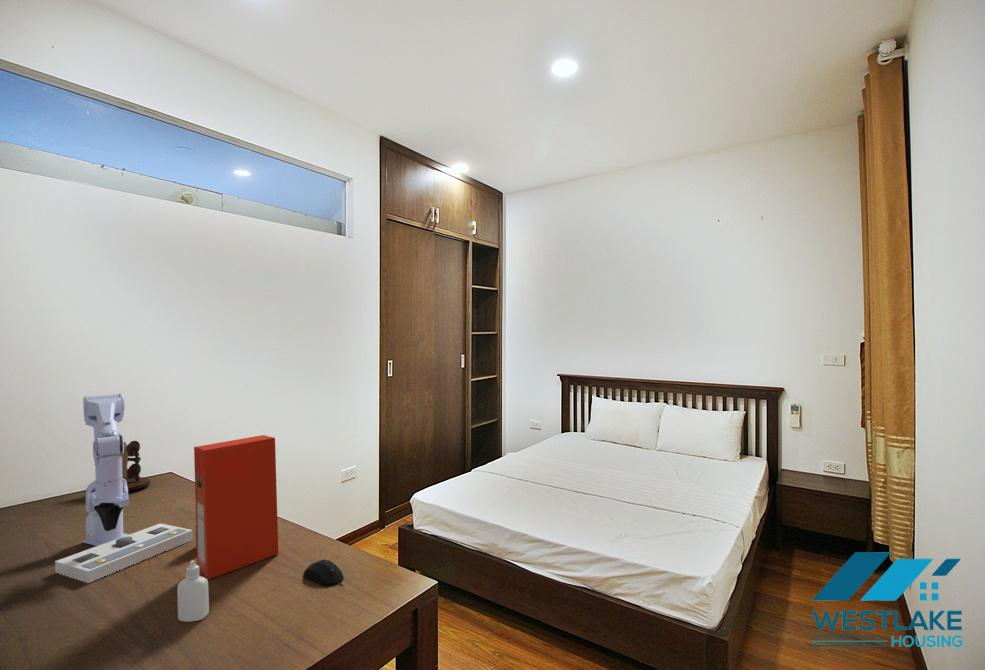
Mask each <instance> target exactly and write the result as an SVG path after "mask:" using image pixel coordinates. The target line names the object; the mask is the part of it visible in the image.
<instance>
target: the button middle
mask: <svg viewBox="0 0 985 670" xmlns="http://www.w3.org/2000/svg"><path fill="white" fill-rule="evenodd" d="M130 544H132V537H130V536H129V537H123V538H120V539H118V540H116V547H118V548H122V547H124V546H127V545H130Z"/></svg>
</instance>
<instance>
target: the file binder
mask: <svg viewBox="0 0 985 670" xmlns="http://www.w3.org/2000/svg"><path fill="white" fill-rule="evenodd" d="M276 455H277V454H276V437H273V436H269V435H266V434H265V435H264V434H262V435H256V436H250V437H246V438H244V437H243V438H237V439H233V440H227V441H221V442H216V443H215V442H214V443H210V444H209V443H208V444H204V445H197V446H193V457H194V458H193V459H194V461H193V463H194V490H195V491H194V495H195V498H194V499H195V537H196V536H197V548H196V561H197V562H196V565H199V575H200V576H201V577H204V578H206V579H207V580H211V579H214V578H216V577H220V576H222V575H224V574H227V573H230V572H233V571H235V570H239V569H240V568H244V567H247V566H249V565H252V564H255V563H257V562H260V561H262V560H265V559H268V558H271V557H274V556H276V555H278V554H279V533H278V532H279V531H278V529H279V528H278V527H279V526H278V497H277V496H278V494H277V462H276V461H277V459H276V458H277V457H276ZM273 555H274V556H273Z"/></svg>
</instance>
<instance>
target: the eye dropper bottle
mask: <svg viewBox="0 0 985 670" xmlns="http://www.w3.org/2000/svg"><path fill="white" fill-rule="evenodd" d="M176 589H177V619H178V621H180V622H183V623H184V622H186V623H190V622H198V621H201V620H202V621H203V620H204V619H205V618H206V617H207V616H208V615H209V613H210V603H209V602H210V599H209V596H210V595H209V581H208V580H207V579H206V578H205V577H204V576H202V575H200V573H199V565H197V564H196V561H195V560H191V561H190V563H189V566H188V567H186V568H185V578H184V579H182V580H181V581H180V582H179V583H178V585H177V588H176Z"/></svg>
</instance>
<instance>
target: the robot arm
mask: <svg viewBox="0 0 985 670" xmlns="http://www.w3.org/2000/svg"><path fill="white" fill-rule="evenodd" d="M82 401H83V402H82V403H83V404H82V405H83V407H82V408H83V419H84V422H85V425H86V426H90V427H92V428H93V441H92V457H93V461H94V466H95V468H94V473H95V475H94V476H95V480H93V481H92V482H91V483H90V484H88V485H87V487H86V488H85V512H86V513H87V514H88V515H87V516H86V518H85V537H86V539H84V540H82V543H83V544H88V545H91V546H93V547H96V546H99V545H102V544H104V543H107V542H110V541H113V540H116V539H118V538H121V537H124V536H127V535H129V534H130V533H125V532H124V510H125V509H124V507H127V506H130V498H129V492H128V487H127V481H126V480H125V479H123V478H122V456H121V455H120V452H121V453H122V455H123V453H124V442H125V441H124V439H125V438H124V437H123V434H122V433H121V429H120V424H119V423H120V422H123V418H124V417H125V416H124V415H125V413H124V412H125V395H124V394H123V393H115V394H113V393H112V394H103V395H89V396H87V395H86V396H84V397H83V399H82Z"/></svg>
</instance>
